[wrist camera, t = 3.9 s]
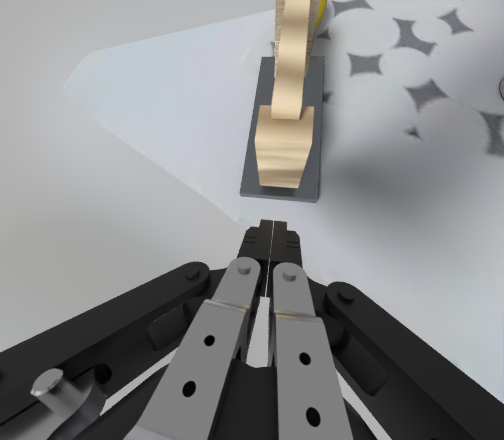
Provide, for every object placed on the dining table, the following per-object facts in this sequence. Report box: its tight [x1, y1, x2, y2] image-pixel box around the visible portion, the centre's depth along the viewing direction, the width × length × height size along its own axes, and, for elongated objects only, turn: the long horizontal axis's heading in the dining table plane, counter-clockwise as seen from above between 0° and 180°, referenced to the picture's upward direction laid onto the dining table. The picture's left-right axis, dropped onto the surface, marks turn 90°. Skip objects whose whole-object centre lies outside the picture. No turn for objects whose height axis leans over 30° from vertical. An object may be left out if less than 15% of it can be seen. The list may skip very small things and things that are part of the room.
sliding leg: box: [255, 0, 314, 188], centre depth 23 cm, size 20×5×12 cm, turn 172°
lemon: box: [315, 0, 327, 29], centre depth 33 cm, size 6×6×8 cm
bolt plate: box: [240, 0, 324, 203], centre depth 26 cm, size 27×11×12 cm, turn 172°
